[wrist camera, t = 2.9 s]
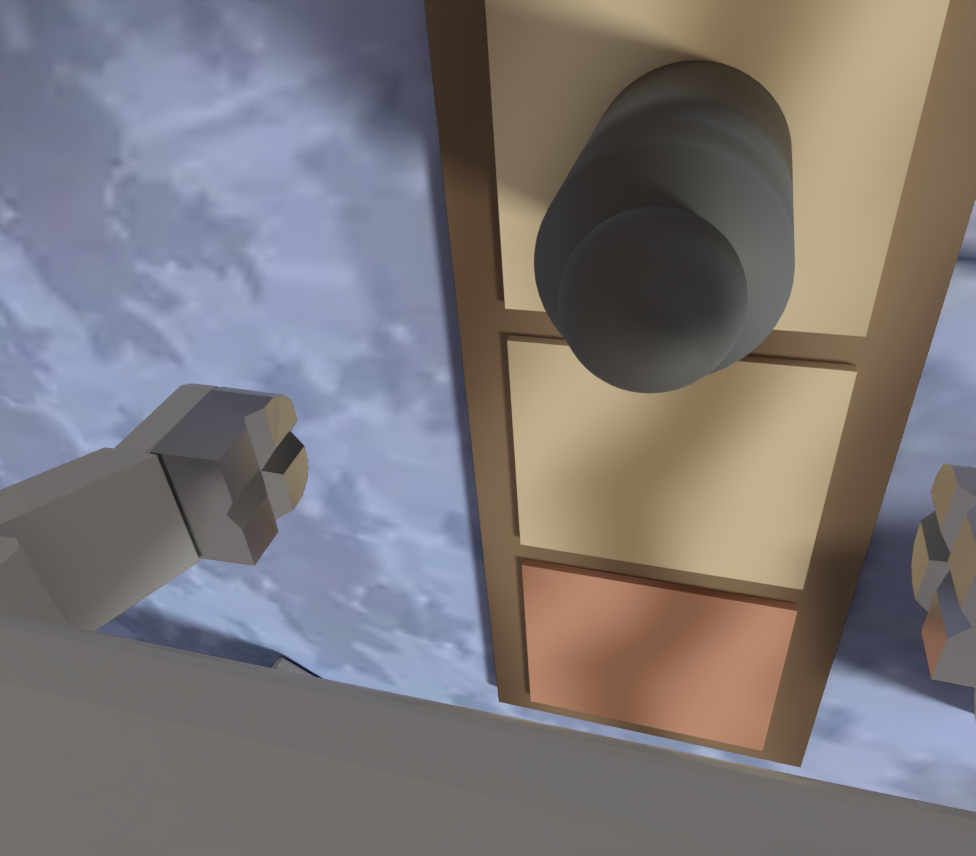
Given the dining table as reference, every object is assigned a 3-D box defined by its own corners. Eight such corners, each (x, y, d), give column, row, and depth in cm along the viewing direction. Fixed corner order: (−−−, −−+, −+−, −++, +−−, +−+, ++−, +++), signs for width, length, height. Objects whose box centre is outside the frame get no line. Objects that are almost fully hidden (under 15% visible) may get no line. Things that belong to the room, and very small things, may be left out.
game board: (1065, -128, 14) (1080, -125, 13) (800, 752, 31) (800, 774, 30) (425, -87, 17) (410, -83, 16) (502, 689, 34) (497, 707, 33)
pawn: (808, 59, 16) (824, 212, 10) (775, 261, 18) (772, 481, 12) (591, 61, 17) (485, 198, 11) (589, 250, 20) (504, 447, 14)
